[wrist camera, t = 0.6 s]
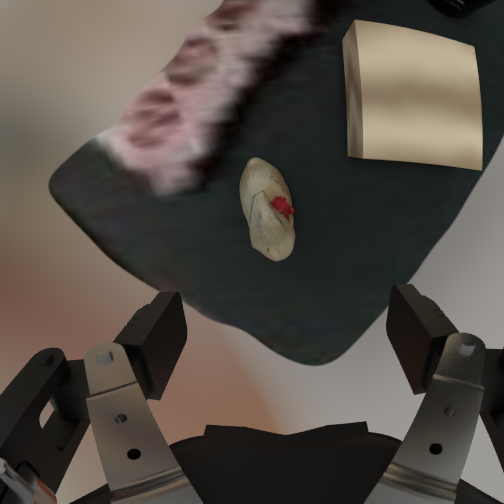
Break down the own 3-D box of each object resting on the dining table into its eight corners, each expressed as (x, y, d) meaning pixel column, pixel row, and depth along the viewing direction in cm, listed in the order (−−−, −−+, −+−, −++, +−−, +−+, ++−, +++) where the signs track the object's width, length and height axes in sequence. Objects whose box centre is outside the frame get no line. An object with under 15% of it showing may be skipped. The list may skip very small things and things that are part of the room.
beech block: (341, 41, 24) (354, 19, 18) (445, 59, 23) (473, 46, 17) (347, 156, 28) (363, 158, 22) (450, 164, 27) (481, 170, 21)
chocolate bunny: (234, 233, 31) (214, 273, 22) (244, 155, 28) (227, 159, 19) (289, 242, 31) (293, 285, 21) (302, 164, 28) (313, 172, 19)
